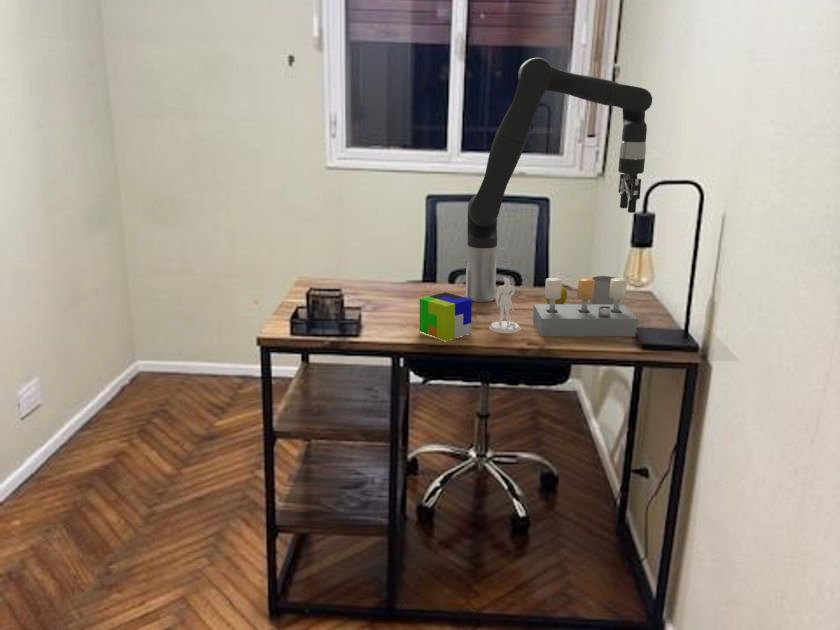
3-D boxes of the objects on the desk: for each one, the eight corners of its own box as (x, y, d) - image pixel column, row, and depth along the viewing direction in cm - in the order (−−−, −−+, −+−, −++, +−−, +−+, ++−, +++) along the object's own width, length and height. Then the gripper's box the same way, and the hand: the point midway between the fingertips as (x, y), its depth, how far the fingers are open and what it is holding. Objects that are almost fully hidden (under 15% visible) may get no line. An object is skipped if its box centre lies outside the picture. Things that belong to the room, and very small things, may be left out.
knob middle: (577, 313, 209) (580, 281, 206) (574, 309, 213) (576, 277, 211) (593, 313, 209) (596, 281, 206) (590, 309, 213) (592, 278, 211)
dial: (599, 317, 205) (600, 308, 205) (596, 314, 208) (597, 305, 208) (611, 317, 205) (612, 308, 205) (608, 314, 208) (609, 305, 208)
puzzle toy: (471, 334, 207) (472, 299, 204) (445, 342, 200) (446, 306, 198) (444, 326, 214) (445, 292, 211) (419, 333, 207) (419, 298, 204)
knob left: (545, 313, 209) (547, 281, 206) (542, 309, 213) (544, 277, 210) (561, 313, 209) (563, 281, 206) (558, 309, 213) (560, 277, 210)
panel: (540, 336, 206) (541, 318, 204) (532, 320, 219) (533, 304, 218) (635, 336, 206) (637, 318, 205) (622, 321, 219) (623, 304, 218)
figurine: (488, 332, 209) (490, 279, 204) (489, 322, 217) (491, 272, 213) (520, 334, 207) (523, 281, 203) (520, 324, 216) (523, 273, 211)
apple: (546, 311, 229) (548, 285, 226) (543, 305, 235) (544, 280, 232) (568, 311, 229) (569, 285, 226) (563, 305, 235) (565, 280, 232)
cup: (620, 315, 225) (623, 282, 222) (592, 315, 225) (595, 282, 222) (613, 307, 233) (616, 276, 230) (586, 307, 233) (589, 275, 230)
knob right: (610, 313, 209) (612, 281, 206) (606, 309, 213) (608, 278, 211) (626, 313, 209) (628, 282, 207) (621, 309, 213) (624, 278, 211)
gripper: (613, 154, 235) (609, 206, 240) (626, 159, 221) (621, 214, 226) (637, 154, 235) (632, 206, 240) (652, 159, 221) (646, 214, 226)
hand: (627, 210), depth 233 cm, fingers open, 8 cm apart
